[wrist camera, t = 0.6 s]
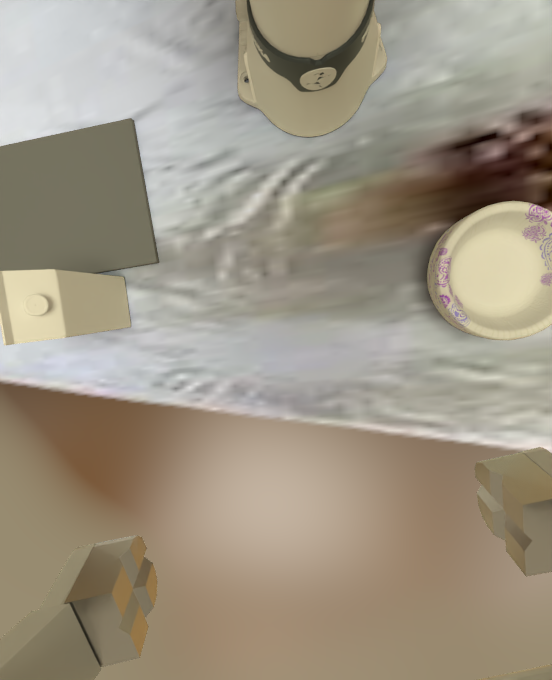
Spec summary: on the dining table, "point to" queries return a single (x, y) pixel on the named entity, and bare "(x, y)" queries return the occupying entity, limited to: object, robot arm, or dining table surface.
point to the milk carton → (60, 304)
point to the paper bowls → (495, 271)
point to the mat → (75, 202)
